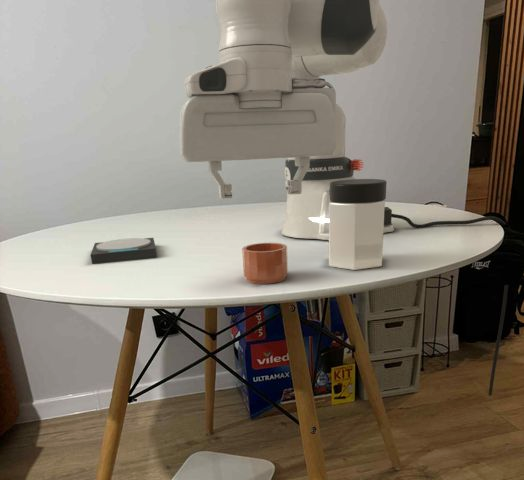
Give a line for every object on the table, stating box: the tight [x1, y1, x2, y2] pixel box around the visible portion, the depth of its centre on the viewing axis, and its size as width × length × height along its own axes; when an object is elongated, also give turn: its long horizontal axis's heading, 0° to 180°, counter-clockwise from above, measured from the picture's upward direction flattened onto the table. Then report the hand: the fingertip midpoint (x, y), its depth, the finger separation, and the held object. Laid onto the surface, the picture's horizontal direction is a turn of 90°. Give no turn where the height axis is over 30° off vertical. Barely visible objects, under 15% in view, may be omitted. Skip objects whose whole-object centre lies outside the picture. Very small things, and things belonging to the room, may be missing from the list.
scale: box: [90, 237, 158, 265], centre depth 91 cm, size 11×11×2 cm
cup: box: [241, 242, 289, 285], centre depth 71 cm, size 6×6×4 cm
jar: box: [328, 178, 388, 271], centre depth 75 cm, size 9×8×12 cm
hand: (260, 196), depth 67 cm, fingers open, 8 cm apart
